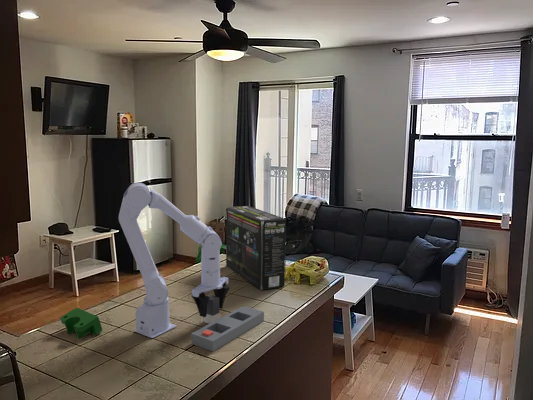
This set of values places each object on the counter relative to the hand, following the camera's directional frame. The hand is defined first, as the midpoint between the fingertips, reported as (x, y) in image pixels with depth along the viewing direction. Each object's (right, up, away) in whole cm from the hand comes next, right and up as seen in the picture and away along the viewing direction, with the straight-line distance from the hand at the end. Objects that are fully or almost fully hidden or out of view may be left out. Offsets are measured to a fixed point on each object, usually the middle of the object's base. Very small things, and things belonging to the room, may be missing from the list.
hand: (211, 311), depth 137 cm
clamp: (-37, -5, -8) cm, 38 cm away
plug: (0, -3, 0) cm, 3 cm away
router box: (+12, +3, +45) cm, 47 cm away
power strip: (+6, -4, -6) cm, 10 cm away
